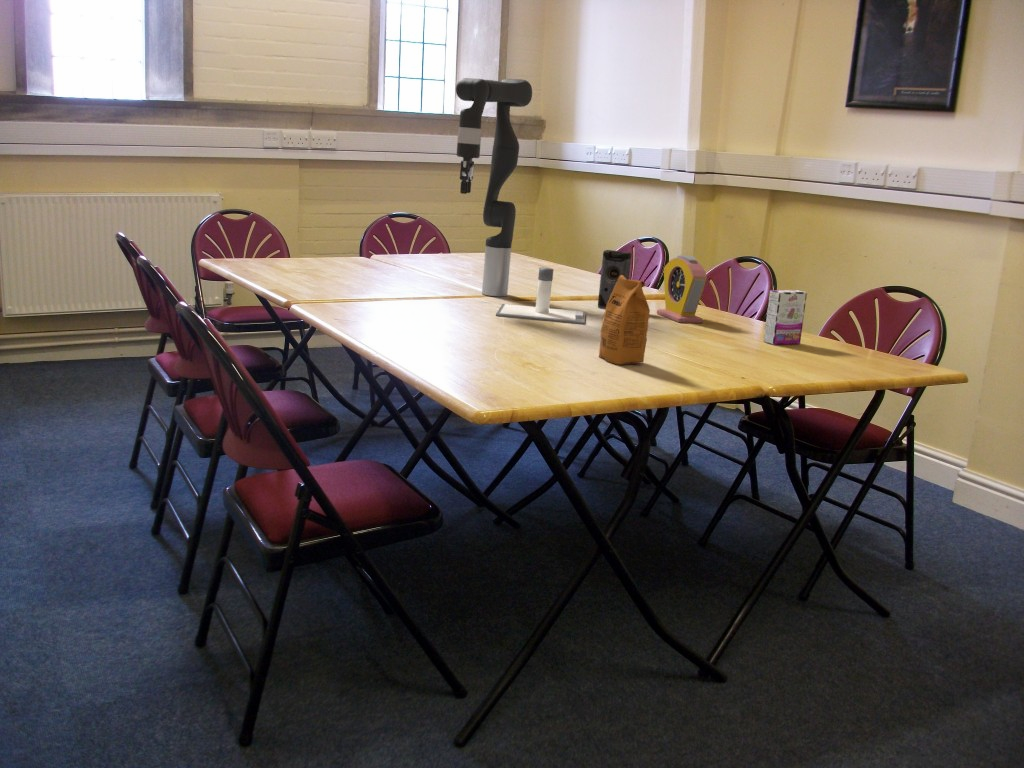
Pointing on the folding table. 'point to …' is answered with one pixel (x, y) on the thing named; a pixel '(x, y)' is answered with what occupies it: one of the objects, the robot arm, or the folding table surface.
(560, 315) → the clipboard
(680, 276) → the yellow desk clock
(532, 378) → the folding table surface
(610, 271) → the electronic device
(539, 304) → the marker
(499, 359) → the folding table surface
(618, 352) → the coffee package
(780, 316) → the candy bar box
